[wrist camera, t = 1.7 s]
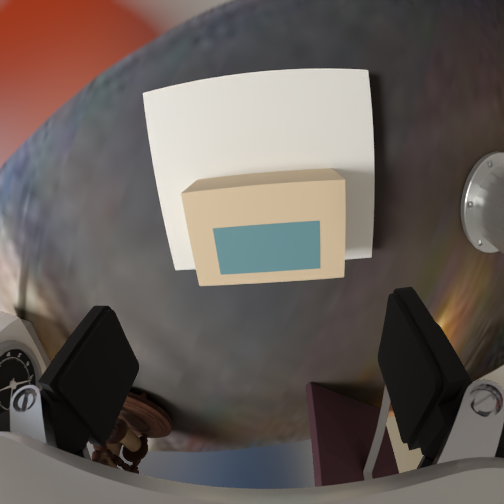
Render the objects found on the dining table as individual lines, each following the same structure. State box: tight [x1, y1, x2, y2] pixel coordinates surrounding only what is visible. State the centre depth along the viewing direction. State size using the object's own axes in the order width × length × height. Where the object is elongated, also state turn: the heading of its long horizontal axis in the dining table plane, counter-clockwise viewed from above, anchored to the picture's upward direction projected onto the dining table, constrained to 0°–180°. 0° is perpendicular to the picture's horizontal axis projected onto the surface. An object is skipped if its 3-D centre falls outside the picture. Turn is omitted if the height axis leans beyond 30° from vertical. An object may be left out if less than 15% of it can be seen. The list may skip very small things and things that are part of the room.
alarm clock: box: [0, 311, 51, 414], centre depth 33 cm, size 18×8×20 cm, turn 178°
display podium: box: [143, 69, 375, 270], centre depth 26 cm, size 20×18×2 cm
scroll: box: [92, 392, 173, 474], centre depth 37 cm, size 15×15×20 cm
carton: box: [181, 168, 346, 286], centre depth 24 cm, size 12×8×5 cm, turn 96°
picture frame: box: [306, 382, 399, 487], centre depth 28 cm, size 17×10×25 cm, turn 58°
